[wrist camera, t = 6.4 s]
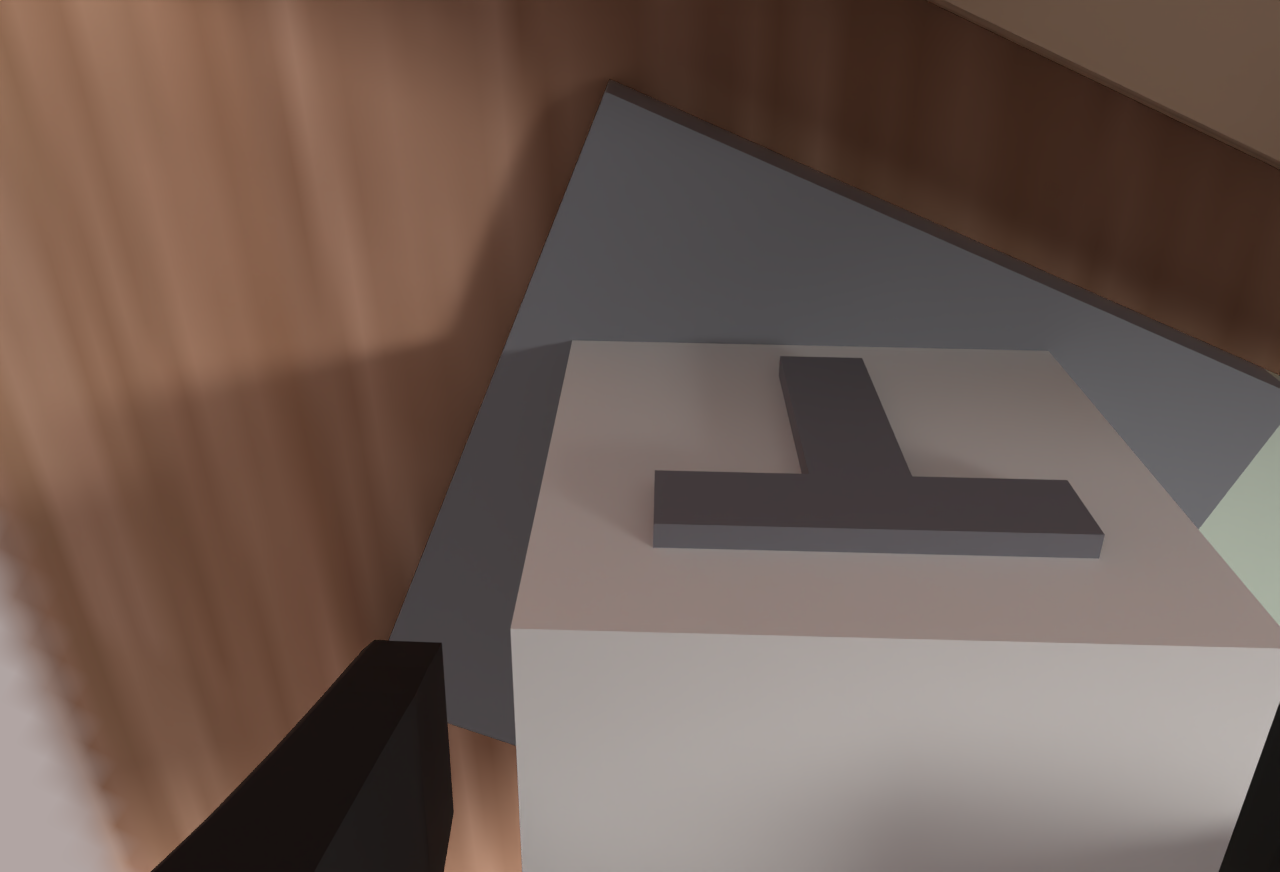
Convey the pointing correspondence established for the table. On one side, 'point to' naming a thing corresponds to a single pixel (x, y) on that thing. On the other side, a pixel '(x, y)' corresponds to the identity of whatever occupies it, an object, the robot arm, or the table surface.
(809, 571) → the lettered cube
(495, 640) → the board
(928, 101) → the table surface
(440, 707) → the robot arm
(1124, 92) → the walnut block
